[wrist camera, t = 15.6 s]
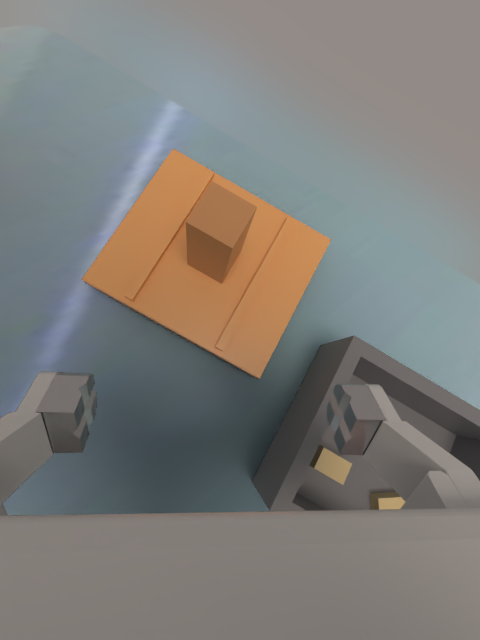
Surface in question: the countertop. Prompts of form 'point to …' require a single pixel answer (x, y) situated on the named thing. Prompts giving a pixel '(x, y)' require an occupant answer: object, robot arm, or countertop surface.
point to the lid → (210, 263)
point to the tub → (318, 437)
